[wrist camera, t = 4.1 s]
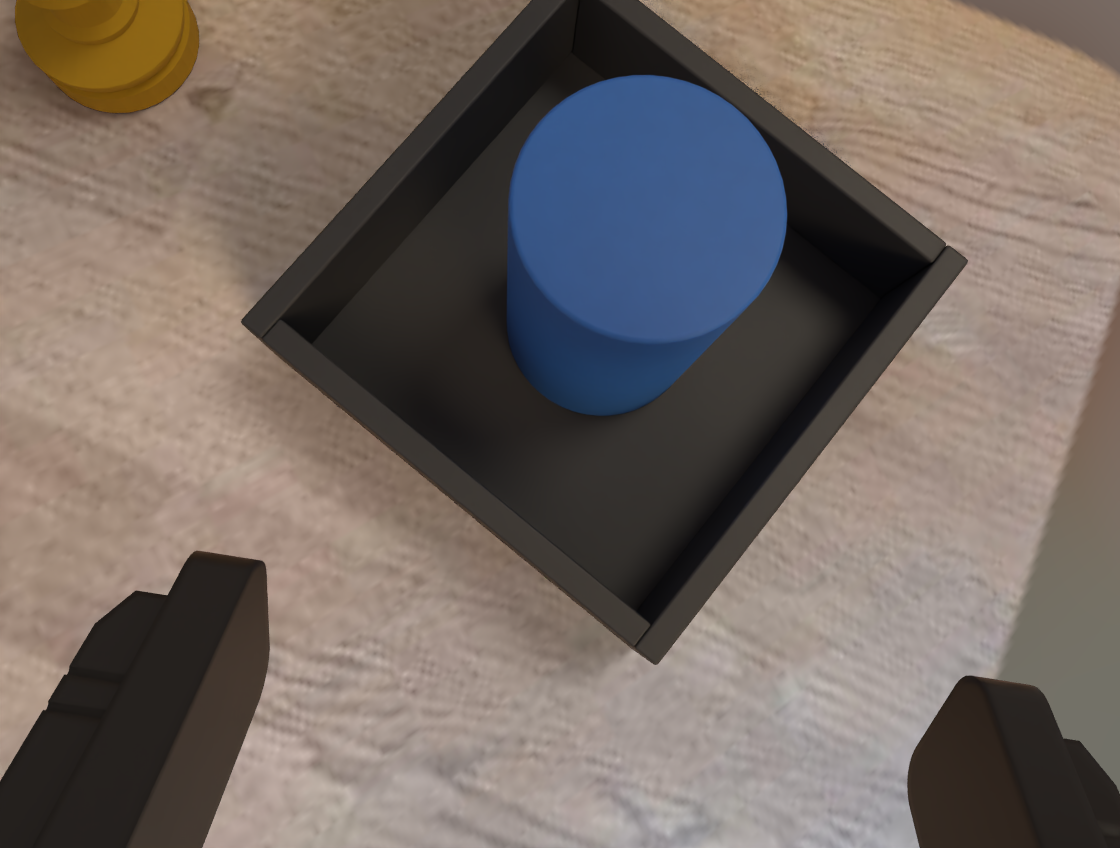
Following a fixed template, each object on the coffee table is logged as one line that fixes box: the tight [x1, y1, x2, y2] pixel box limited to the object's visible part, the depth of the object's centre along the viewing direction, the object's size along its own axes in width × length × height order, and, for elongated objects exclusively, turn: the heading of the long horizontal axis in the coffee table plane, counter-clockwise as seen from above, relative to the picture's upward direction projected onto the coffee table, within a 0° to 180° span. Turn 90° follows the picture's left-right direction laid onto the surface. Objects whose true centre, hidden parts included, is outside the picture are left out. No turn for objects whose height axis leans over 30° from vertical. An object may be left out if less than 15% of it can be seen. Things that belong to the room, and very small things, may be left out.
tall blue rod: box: [507, 75, 787, 416], centre depth 20 cm, size 5×5×8 cm
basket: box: [241, 0, 968, 665], centre depth 22 cm, size 11×11×4 cm
